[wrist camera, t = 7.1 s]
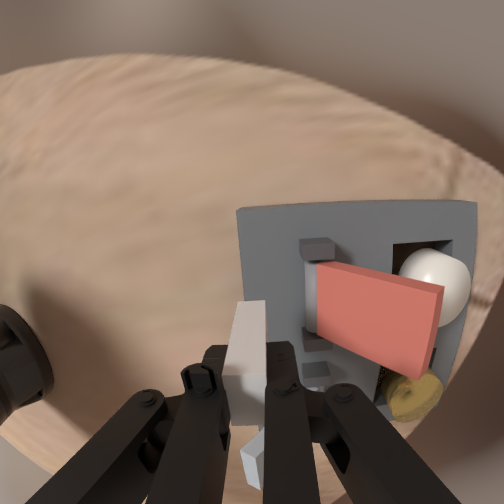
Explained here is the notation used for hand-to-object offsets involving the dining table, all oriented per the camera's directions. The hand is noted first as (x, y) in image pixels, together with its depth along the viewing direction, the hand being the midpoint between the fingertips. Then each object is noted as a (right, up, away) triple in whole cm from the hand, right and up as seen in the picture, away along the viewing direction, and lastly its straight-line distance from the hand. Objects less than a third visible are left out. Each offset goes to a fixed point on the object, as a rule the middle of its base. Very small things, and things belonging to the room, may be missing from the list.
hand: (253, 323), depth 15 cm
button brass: (+14, -8, +6) cm, 17 cm away
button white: (+13, +2, +3) cm, 14 cm away
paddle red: (+4, +1, +3) cm, 5 cm away
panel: (+10, -3, +8) cm, 13 cm away
